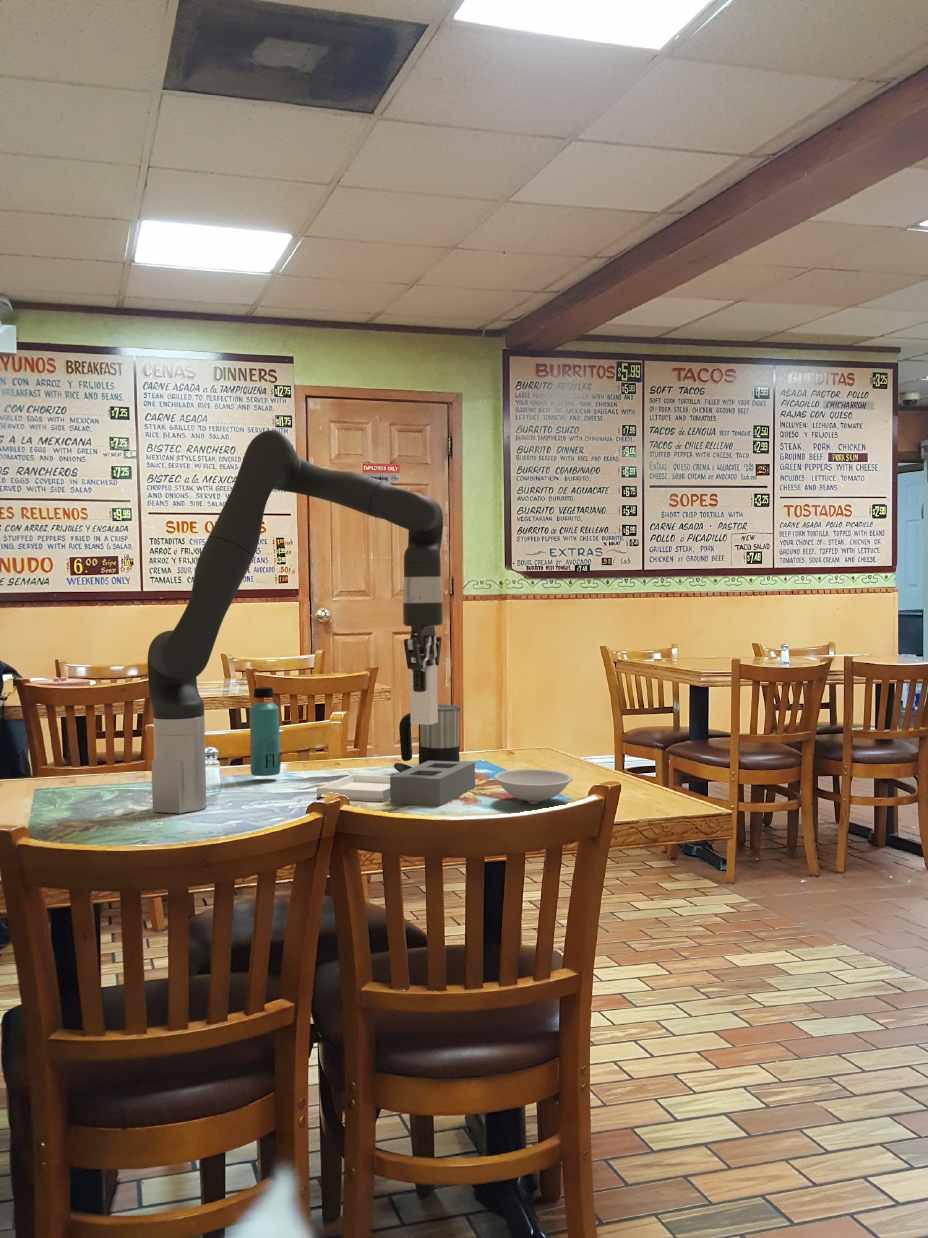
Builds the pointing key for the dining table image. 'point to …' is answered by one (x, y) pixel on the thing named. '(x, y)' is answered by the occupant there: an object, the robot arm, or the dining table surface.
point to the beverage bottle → (264, 735)
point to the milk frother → (432, 738)
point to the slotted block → (432, 783)
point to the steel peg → (425, 699)
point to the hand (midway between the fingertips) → (423, 690)
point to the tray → (359, 787)
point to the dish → (533, 783)
